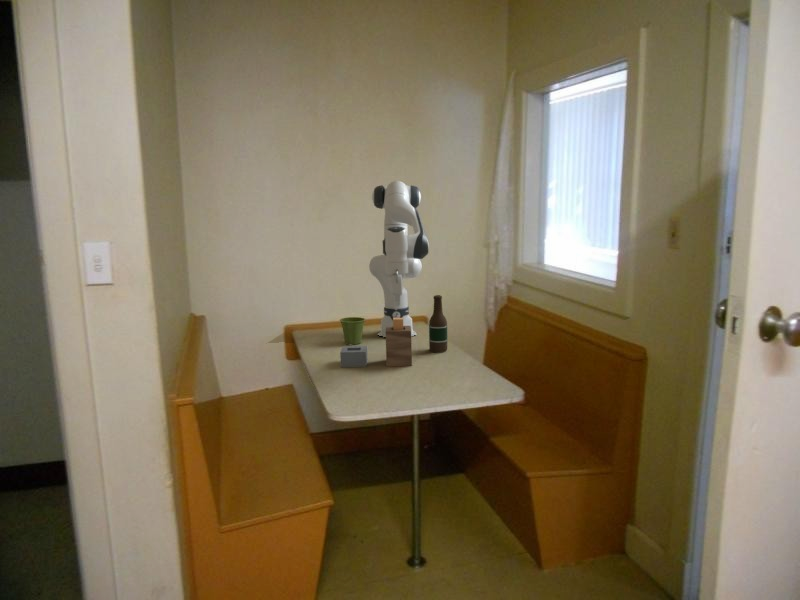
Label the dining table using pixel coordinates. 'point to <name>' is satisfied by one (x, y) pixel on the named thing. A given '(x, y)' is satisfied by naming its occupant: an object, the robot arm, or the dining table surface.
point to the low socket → (353, 356)
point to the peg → (397, 323)
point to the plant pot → (352, 329)
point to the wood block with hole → (398, 346)
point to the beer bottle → (438, 327)
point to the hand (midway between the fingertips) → (397, 303)
